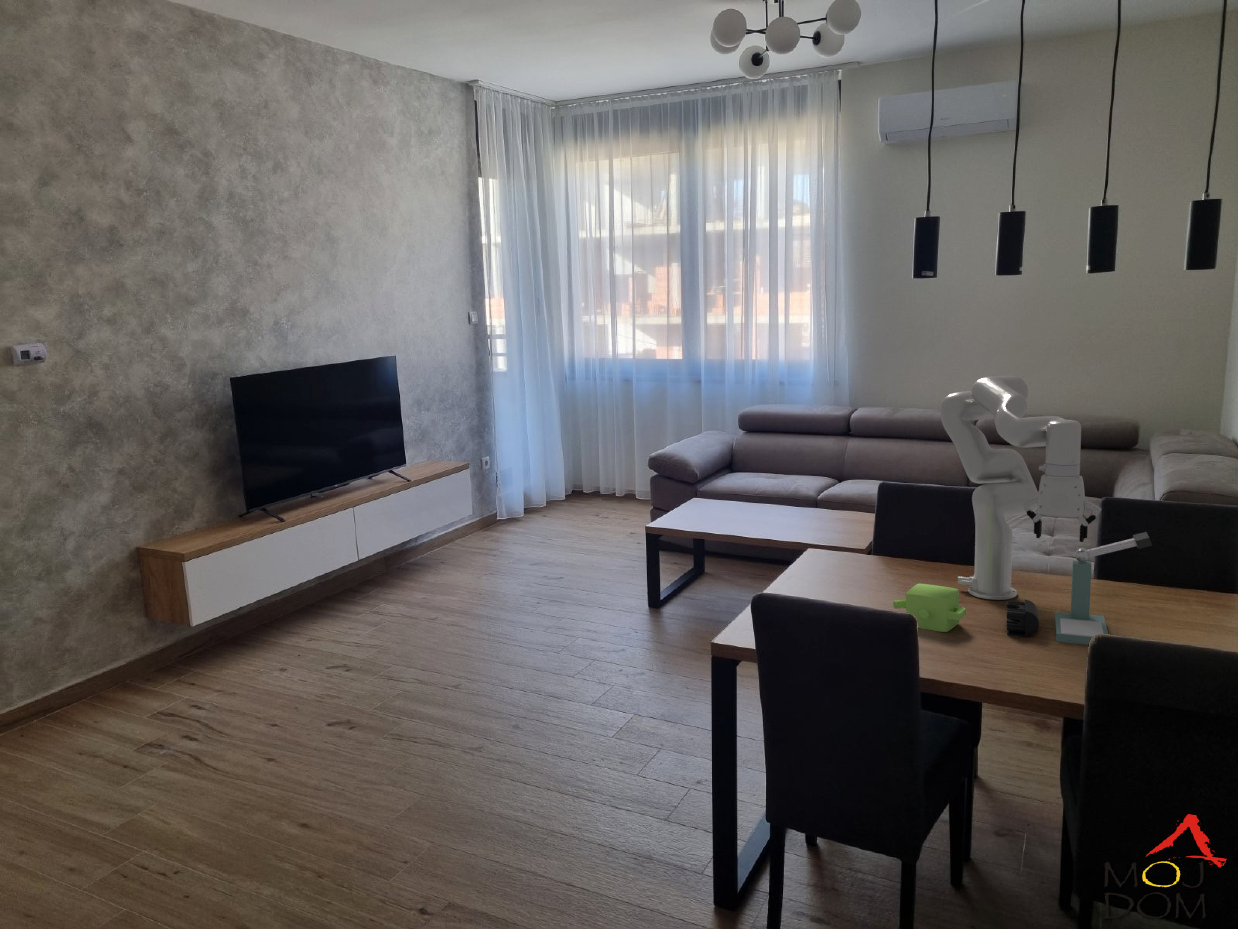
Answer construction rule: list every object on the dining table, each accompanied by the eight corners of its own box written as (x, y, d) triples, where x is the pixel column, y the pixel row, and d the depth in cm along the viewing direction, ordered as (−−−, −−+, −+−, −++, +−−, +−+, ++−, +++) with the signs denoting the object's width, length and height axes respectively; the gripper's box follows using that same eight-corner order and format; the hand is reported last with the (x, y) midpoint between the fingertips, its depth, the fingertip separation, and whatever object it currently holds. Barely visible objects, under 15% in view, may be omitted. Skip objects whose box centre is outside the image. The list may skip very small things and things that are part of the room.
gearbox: (886, 626, 228) (885, 591, 226) (902, 613, 235) (901, 579, 233) (956, 638, 216) (956, 601, 214) (970, 625, 223) (970, 589, 221)
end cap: (1038, 639, 213) (1039, 612, 212) (1006, 636, 216) (1007, 610, 214) (1037, 625, 222) (1038, 600, 221) (1006, 623, 225) (1007, 597, 224)
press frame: (1056, 641, 211) (1058, 577, 208) (1054, 619, 226) (1057, 558, 223) (1108, 646, 206) (1111, 581, 203) (1103, 623, 221) (1106, 561, 219)
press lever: (1078, 565, 216) (1074, 554, 216) (1077, 559, 222) (1073, 548, 222) (1152, 547, 209) (1148, 535, 209) (1149, 541, 214) (1145, 529, 214)
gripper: (1021, 471, 216) (1019, 538, 219) (1100, 475, 206) (1097, 546, 209) (1026, 466, 222) (1024, 532, 225) (1104, 470, 213) (1101, 539, 215)
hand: (1060, 539), depth 217 cm, fingers open, 9 cm apart
